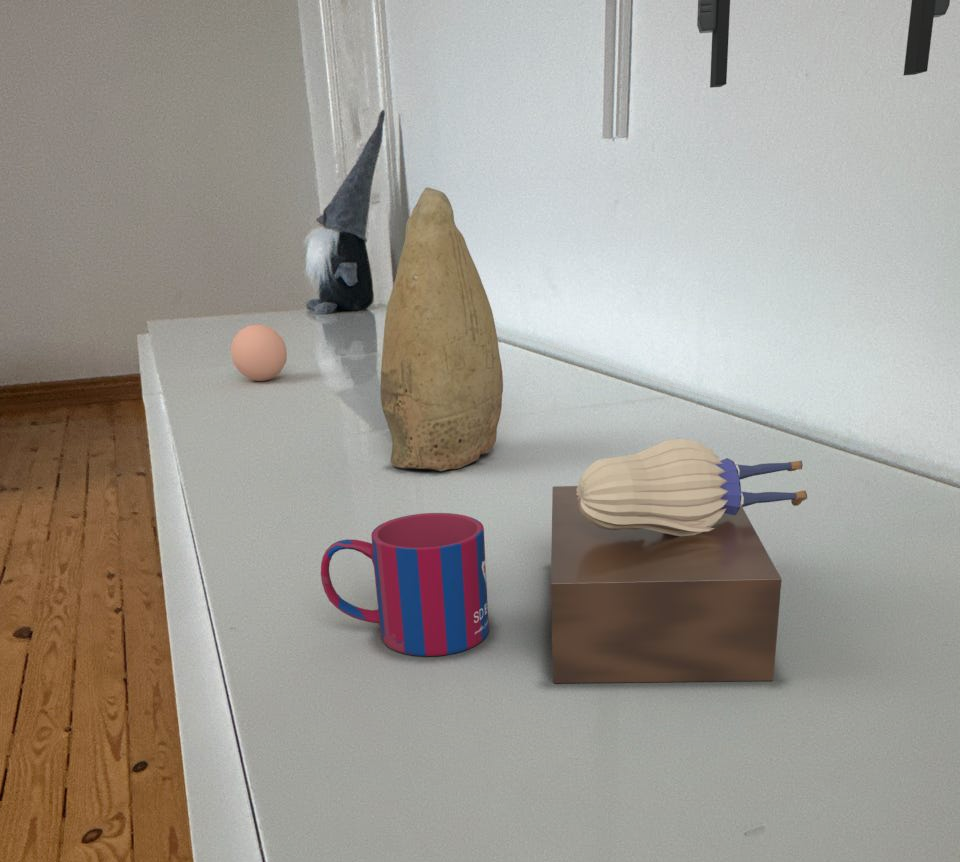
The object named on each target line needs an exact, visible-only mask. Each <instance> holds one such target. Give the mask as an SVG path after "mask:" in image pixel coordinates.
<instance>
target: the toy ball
mask: <svg viewBox="0 0 960 862" xmlns="http://www.w3.org/2000/svg"><path fill="white" fill-rule="evenodd" d="M231 342H232V343H231V345H230V354H231V359H232V362H233V365H234V366H235V368H236V370H237V371H238V372H239V373H240V374H241V375H242V376H243V377H245V378H247V379H249V380H252V381H255V382H265V381H270V380H272V379H274V378H276V377H277V376H278V375H279V374H280V373H281V372H282V370H283V369H284V367H285V365H286V364H287V358H288V352H287V346H286V343H285V341H284V339H283V337H282V336H281V335H280V334H279V333H278V331H276V330H275V329H273V328H272V327H270V326H267V325H264V324H259V323H258V324H250V325H247V326H245V327H243V328H242V329H240V330H239V331H238V332H237V333H236V334H235V336H234V338H233V339H232V341H231Z"/></svg>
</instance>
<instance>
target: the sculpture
mask: <svg viewBox="0 0 960 862" xmlns="http://www.w3.org/2000/svg"><path fill="white" fill-rule="evenodd" d="M404 231H405V233H404V234H405V236H404V237H405V238H404V243H403V246H402V250H401V253H400V258H399V262H398V264H397V265H398V266H397V269H396V274H395V278H394V282H393V286H392V289H391V292H390V296H389V298H388V301H387V306H386V311H385V319H384V327H383V339H382V355H381V365H380V383H379V384H380V387H379V388H380V392H379V393H380V403H381V408H382V413H383V415H384V418H385V421H386V423H387V427H388V430H389V433H390V436H391V441H392V445H391V446H392V447H391V454H390V463H391V466H392V467H396V468H400V469H416V470H428V471H436V472H443V471H449V470H456V469H457V470H458V469H461V468H463V467H466V466H467V465H470V464H472V463H474V462H476V461H478V460H479V458H480V456H481V455H485V454H489V453H490V451H491V450H492V449H493V447H494V446H495V444H496V442H497V436H498V435H497V432H498V425H499V421H500V420H501V419H500V418H501V413H502V406H503V392H504V376H503V367H502V361H501V355H500V348H499V347H500V346H499V340H498V335H497V328H496V324H495V319H494V313H493V309H492V307H491V304H490V300H489V297H488V295H487V291H486V288H485V287H484V284H483V281H482V279H481V276H480V273H479V271H478V269H477V266H476V264H475V262H474V260H473V258H472V255H471V253H470V250H469V247H468V245H467V243H466V240H465V237H464V235H463V233H462V232H461V231H460V229H459V228H458V227H457V225H456V222H455V216H454V210H453V207H452V204H451V201H450V199H449V198H448V196H447V195H446V194H445V193H444V192H443V191H442V190H438V189H435V188H431V187H424V189H423V191H422V193H421V194H420V196H419V198H418V200H417V202H416V204H415V205H414V207H413V209H412V212H411V214H410V216H409V217H408V219H407V221H406V224H405V230H404Z"/></svg>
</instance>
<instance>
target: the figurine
mask: <svg viewBox="0 0 960 862" xmlns="http://www.w3.org/2000/svg"><path fill="white" fill-rule="evenodd" d="M803 466H804V465H803V461H802V460H796V461H788V462H771V463H770V462H767V463H759V464H754V465H746V464H736V463H735V462H734V460H732V459H730V458H728V457H726V458H724V459H721V460H720V458H719V456H718V455H717V454H716V453H715V452H714V451H713V450H712V448H710V447H708V446H706V445H704V444H702V443H700V441H699V442H698V441H694V440H692V439H691V440H690V439H684V438H675V439H667V440H664V441H662V442H660V443H657V444H655V445H653V446H651V447H649V448H647V449H644V450H641V451H639V452H637V453H634V454H628V455H620V456H613V457H607V458H600V459H598V460H596V461H594V462H593V463H592V464H590V465H589V466H588V468H586V469H585V471H584V472H583V473H582V475H581V476H580V478H579V480H578V481H577V485H576V486H577V489H576V490H577V493H576V495H578V496H579V497H578V499H577V500H576V501H577V502H578V508H579V510H580V512H581V514H582V515H583V517H584V518H585V519H586V520H587V521H588V522H589V523H591V524H593V525H595V526H597V527H599V528H602V529H607V530H638V529H642V528H645V529H649V530H653V531H657V532H662V533H666V534H671V535H676V536H690V535H696V534H699V533H701V532H706V531H710V530H713V529H715V528H710V527H712V526H713V525H714V524H715V523H717V521H718V519H720V518H721V516H722V515H723V513H726V514H731V515H735V516H736V514H737V512H738V510H739V508H742V507H743V508H744V507H748V506H752V505H755V504H764V503H774V502H775V503H776V502H781V501H783V502H784V501H791V502H790V503H791V505H792V506H793V507H798V506H800V505H801V503H802V502H803V501H805V500H807V499H808V493H807V491H806V490H800V491H795V492H786V491H785V492H783V491H762V492H749V491H742V485H741V480H744V479H748V478H750V477H751V478H752V477H755V476H761V475H766V474H772V473H776V472H783V471H787V472H795V471H798V470H803Z"/></svg>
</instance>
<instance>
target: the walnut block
mask: <svg viewBox="0 0 960 862" xmlns="http://www.w3.org/2000/svg"><path fill="white" fill-rule="evenodd" d="M576 489H577V485H559V486H552V491H551V492H552V497H551V498H552V499H551V501H552V502H551V549H550V550H551V551H550V552H551V555H550V605H551V606H550V607H551V608H550V609H551V610H550V611H551V653H552V654H551V655H552V656H551V657H552V683H553V684H592V683H593V684H597V683H598V684H599V683H600V684H601V683H603V684H604V683H674V682H675V683H682V682H683V683H685V682H689V683H690V682H695V683H696V682H769V681H774V675H775V665H776V664H775V663H776V652H777V640H778V639H777V638H778V627H779V618H780V617H779V616H780V605H781V603H780V602H781V591H782V577H781V575H780V573H779V571H778V570H777V568H776V566H775V564H774V562H773V561H772V558H771V557H770V555H769V553H768V551H767V550H766V547H765V546H764V544H763V542H762V540H761V538H760V536H759V535H758V533H757V531H756V530H755V527H754V526H753V524H752V522H751V520H750V518H749V517H748V515H747V513H746V511H745V509H744V507H742V508H739V510H738V512H737V514H736V516H735V515H731V514H726V513H723V515H722V516H721V518H720V519H718V521H717V523H715V524H714V525H713V526H712V527H710V528H715V529H713V530H710V531H706V532H701V533H699V534H696V535H690V536H676V535H671V534H666V533H662V532H657V531H653V530H649V529H645V528H642V529H638V530H607V529H602V528H599V527H597V526H595V525H593V524H591V523H589V522H588V521H587V520H586V519H585V518H584V517H583V515H582V514H581V512H580V510H579V508H578V502H577V501H576V500H577V499H578V497H579V496H578V495H576V493H577V490H576Z"/></svg>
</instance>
